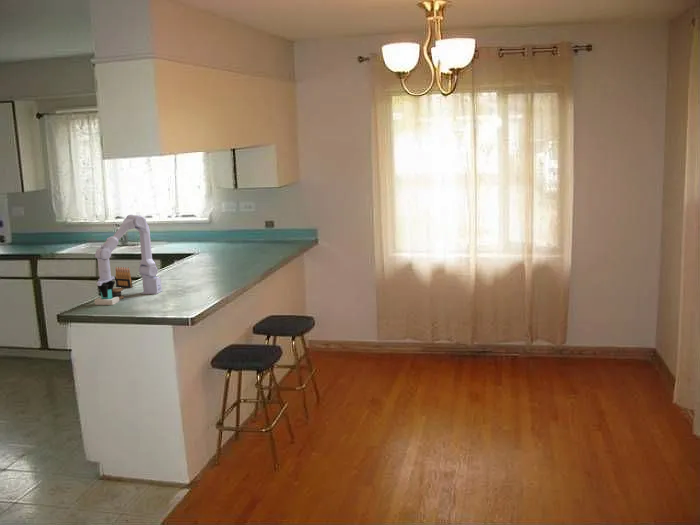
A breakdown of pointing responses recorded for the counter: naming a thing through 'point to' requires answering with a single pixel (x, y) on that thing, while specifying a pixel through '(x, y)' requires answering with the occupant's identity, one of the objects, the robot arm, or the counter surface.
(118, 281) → the ammunition clip
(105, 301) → the notched board
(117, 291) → the bobbin
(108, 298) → the tab peg
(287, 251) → the counter surface
